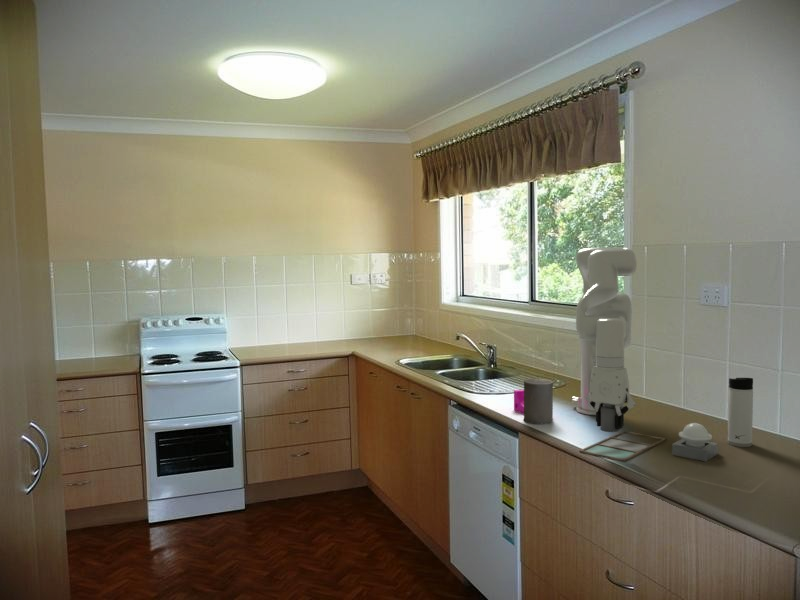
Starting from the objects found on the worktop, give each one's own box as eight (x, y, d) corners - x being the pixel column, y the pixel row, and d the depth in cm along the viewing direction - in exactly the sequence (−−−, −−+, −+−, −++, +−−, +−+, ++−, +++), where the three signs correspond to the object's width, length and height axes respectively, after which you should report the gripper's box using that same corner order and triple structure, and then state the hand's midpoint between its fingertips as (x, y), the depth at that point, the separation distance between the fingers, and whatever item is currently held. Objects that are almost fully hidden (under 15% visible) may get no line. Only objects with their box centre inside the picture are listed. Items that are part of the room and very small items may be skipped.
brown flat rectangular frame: (579, 452, 182) (579, 450, 182) (624, 432, 201) (624, 430, 201) (624, 461, 172) (624, 460, 172) (666, 440, 192) (666, 438, 192)
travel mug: (740, 448, 182) (741, 379, 181) (722, 442, 189) (723, 375, 187) (758, 446, 184) (759, 377, 183) (739, 440, 190) (741, 373, 189)
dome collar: (672, 454, 178) (672, 444, 178) (684, 447, 184) (684, 437, 184) (705, 461, 172) (706, 450, 171) (717, 453, 178) (718, 443, 178)
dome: (673, 448, 178) (674, 423, 177) (685, 442, 184) (685, 418, 183) (705, 454, 172) (705, 429, 171) (716, 447, 178) (716, 422, 177)
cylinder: (597, 430, 180) (597, 395, 179) (605, 426, 183) (605, 392, 183) (613, 433, 176) (613, 397, 176) (621, 429, 180) (621, 395, 179)
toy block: (551, 418, 220) (551, 397, 219) (535, 420, 218) (535, 398, 217) (529, 409, 234) (529, 389, 234) (514, 410, 232) (513, 390, 232)
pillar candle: (517, 420, 218) (517, 376, 217) (538, 415, 223) (538, 373, 222) (538, 426, 210) (538, 381, 209) (559, 421, 215) (559, 377, 214)
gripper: (575, 361, 182) (575, 424, 183) (633, 367, 170) (632, 435, 171) (588, 358, 187) (588, 419, 188) (645, 364, 175) (645, 429, 176)
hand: (609, 426), depth 180 cm, fingers closed on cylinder, 4 cm apart
